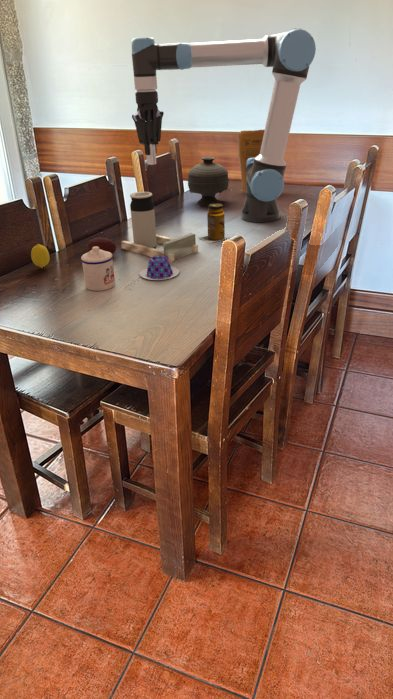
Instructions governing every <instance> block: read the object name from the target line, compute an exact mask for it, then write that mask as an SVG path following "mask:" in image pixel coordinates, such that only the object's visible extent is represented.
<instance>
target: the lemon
mask: <svg viewBox="0 0 393 699" xmlns="http://www.w3.org/2000/svg"><path fill="white" fill-rule="evenodd" d="M30 257H31V261H32V262H33V264H34V265H35V266H37V268H38V267H39V268H41V269H44V268H45V266H47V265H48V264H49V262H50V253H49V251H48V249H47V247H46V246H45V245H42V244H40V243H37V244H36V245H34V246H33V247H32V249H31V253H30ZM43 267H44V268H43Z"/></svg>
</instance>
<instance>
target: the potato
mask: <svg viewBox="0 0 393 699" xmlns="http://www.w3.org/2000/svg"><path fill="white" fill-rule="evenodd" d="M95 246H97V247H99V249H101V250H103V251H108V252H110V253H111V254H112V255H113V254H114V253H115V252H116V251H117V245H116V244H115V242H114V241H113V240H112V239H109V238H107V237H101V236H100V237H94V238H92V239H90V240H89V241H88V242H87V249H88V252H89V251H91V250H92V248H93V247H95Z"/></svg>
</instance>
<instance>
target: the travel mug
mask: <svg viewBox="0 0 393 699" xmlns="http://www.w3.org/2000/svg"><path fill="white" fill-rule="evenodd" d="M129 196H130V198H131V201H130V204H129V208H130V216H131V218H130V219H131V228H132V236H133V238H132V239H133V243H136V244H139V245H143V246H147V247H150V248H154V249H155V248H156V247H157V245H158V243H157V240H156V234H157V228H156V214H155V213H156V212H155V203H154V201H153V200H152V197H153V193H152V192H150V191H137V192H133V193H131V194H129Z"/></svg>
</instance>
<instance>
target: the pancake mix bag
mask: <svg viewBox="0 0 393 699" xmlns="http://www.w3.org/2000/svg"><path fill="white" fill-rule="evenodd" d="M264 131H265V129H256V130H240V132H238V133H237V143H238V144H237V145H238V158H239V159H238V160H239V168H240V178H241V183H242V187H241V188H242V189H241V193H242V194H246V164H247V159H248V158H254V157H256V156H258V155H259V154H260V150H261V145H262V141H263V136H264Z"/></svg>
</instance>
